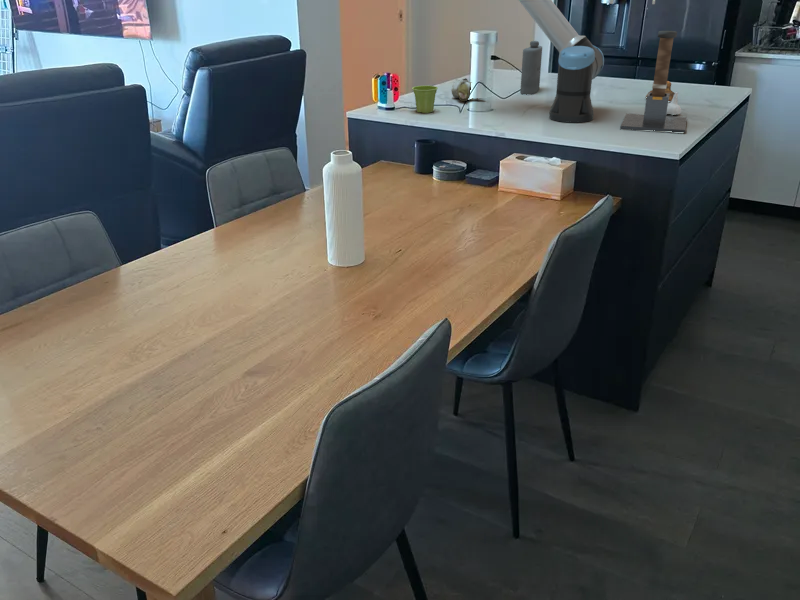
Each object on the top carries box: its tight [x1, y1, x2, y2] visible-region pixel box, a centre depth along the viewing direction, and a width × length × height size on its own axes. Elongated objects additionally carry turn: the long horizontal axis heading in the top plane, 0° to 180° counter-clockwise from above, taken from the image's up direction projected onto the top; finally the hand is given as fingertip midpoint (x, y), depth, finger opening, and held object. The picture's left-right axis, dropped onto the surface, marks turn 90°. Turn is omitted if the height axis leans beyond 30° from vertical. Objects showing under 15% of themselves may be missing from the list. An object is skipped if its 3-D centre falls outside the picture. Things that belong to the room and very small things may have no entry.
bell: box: [645, 80, 675, 101], centre depth 272 cm, size 12×12×7 cm
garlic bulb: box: [666, 91, 682, 115], centre depth 248 cm, size 6×6×8 cm
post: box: [651, 30, 678, 96], centre depth 227 cm, size 6×6×22 cm
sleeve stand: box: [619, 91, 688, 133], centre depth 233 cm, size 20×20×10 cm
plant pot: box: [411, 85, 439, 114], centre depth 258 cm, size 9×9×9 cm
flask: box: [519, 40, 543, 96], centre depth 288 cm, size 15×6×20 cm, turn 155°
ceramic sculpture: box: [450, 78, 472, 102], centre depth 277 cm, size 11×9×15 cm
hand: (632, 3), depth 235 cm, fingers open, 13 cm apart
